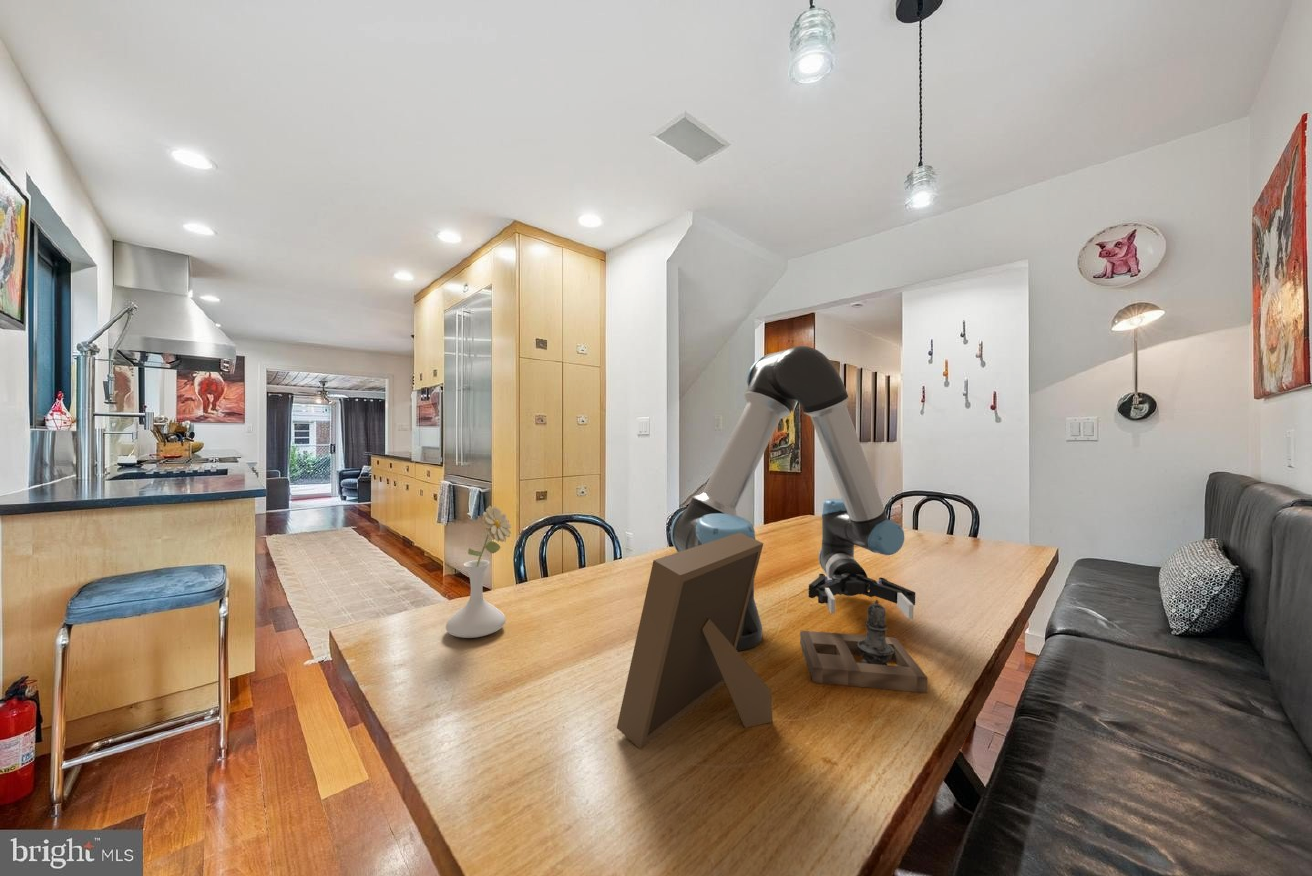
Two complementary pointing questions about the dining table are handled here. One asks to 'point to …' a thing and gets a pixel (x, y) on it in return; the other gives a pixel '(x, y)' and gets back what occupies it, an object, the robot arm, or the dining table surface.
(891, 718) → the dining table surface
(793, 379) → the robot arm
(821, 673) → the socket board
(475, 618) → the flower in vase
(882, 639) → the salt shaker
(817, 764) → the dining table surface
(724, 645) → the photo frame
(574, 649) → the dining table surface
